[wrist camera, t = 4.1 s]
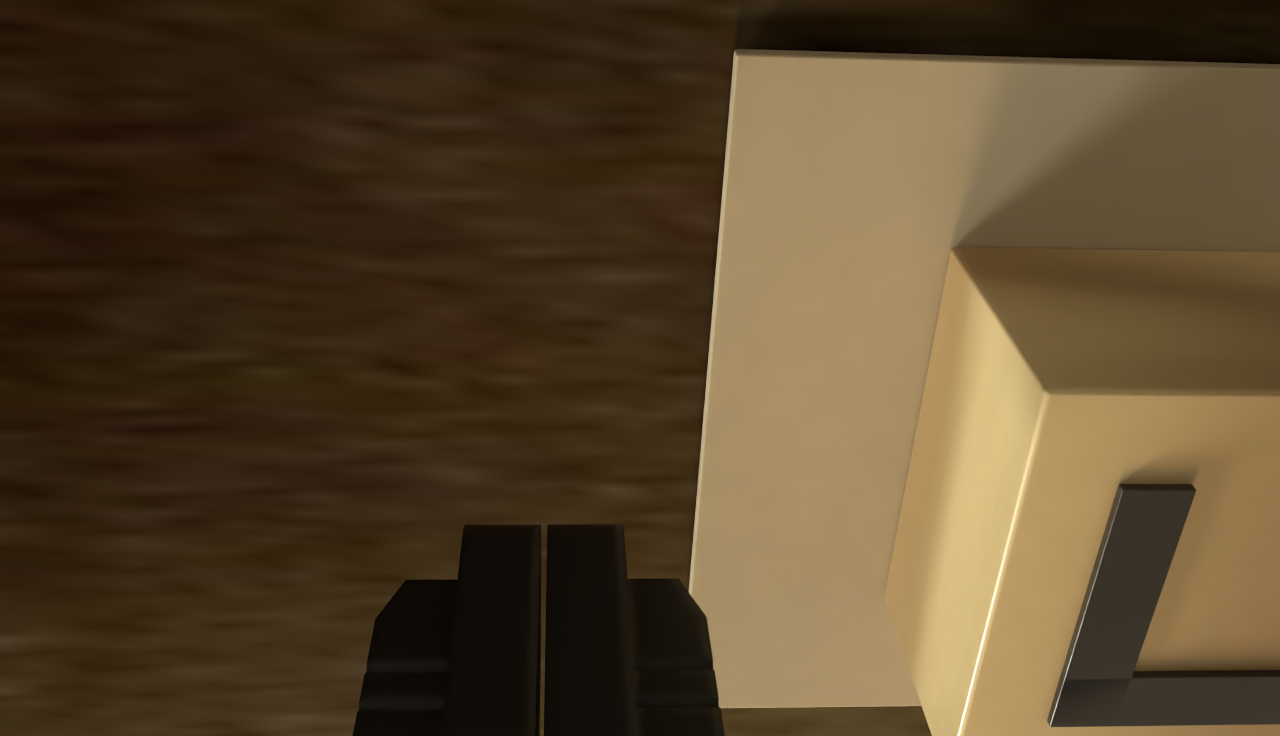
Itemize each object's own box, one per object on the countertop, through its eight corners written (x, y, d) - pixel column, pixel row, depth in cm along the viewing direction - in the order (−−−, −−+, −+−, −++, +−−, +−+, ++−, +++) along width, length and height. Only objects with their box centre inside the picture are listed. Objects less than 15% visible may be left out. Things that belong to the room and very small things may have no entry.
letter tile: (881, 596, 15) (948, 791, 13) (950, 245, 13) (1050, 395, 10) (1252, 595, 16) (1393, 784, 13) (1389, 251, 13) (1597, 399, 11)
